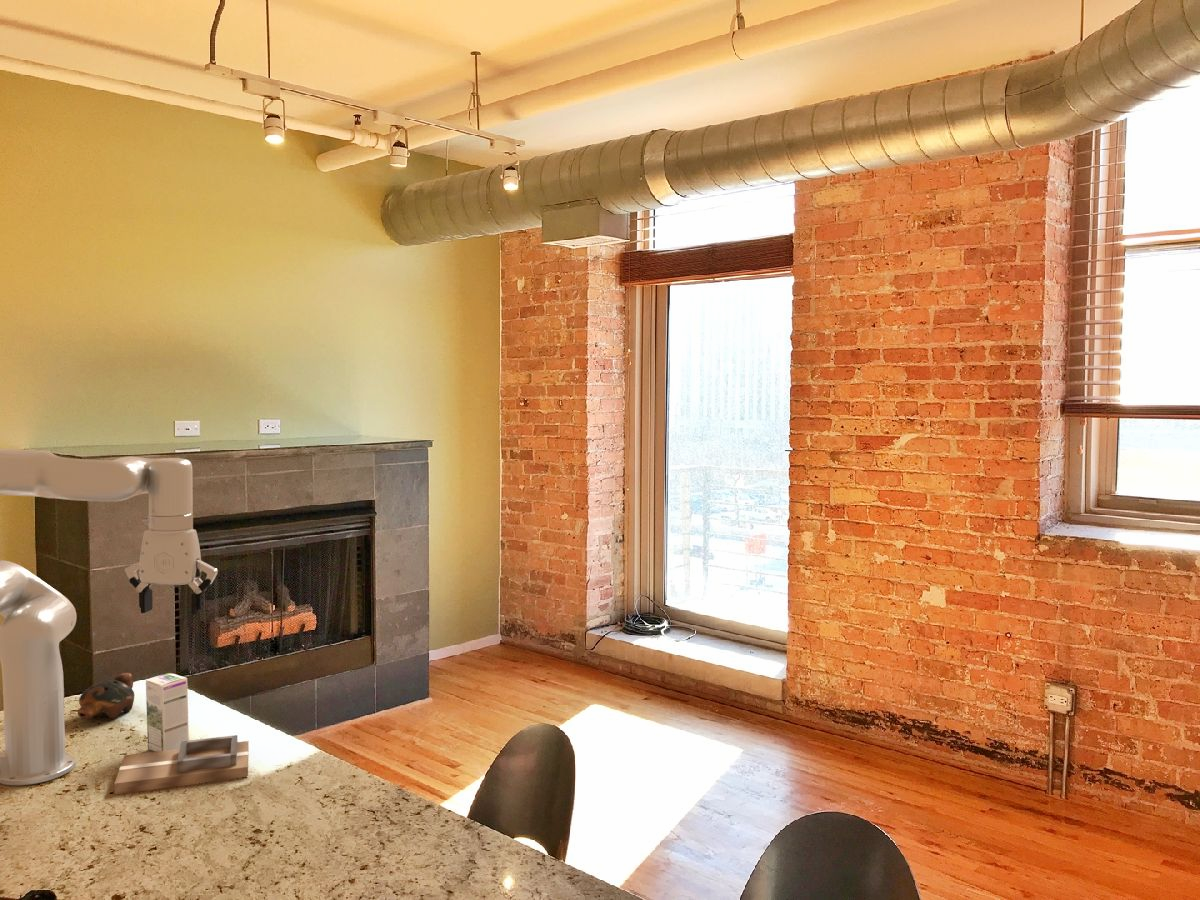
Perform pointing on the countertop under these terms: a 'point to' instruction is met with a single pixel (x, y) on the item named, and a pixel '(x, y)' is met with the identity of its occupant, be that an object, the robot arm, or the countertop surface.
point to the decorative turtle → (107, 697)
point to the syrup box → (167, 712)
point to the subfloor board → (184, 765)
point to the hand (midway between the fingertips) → (171, 612)
